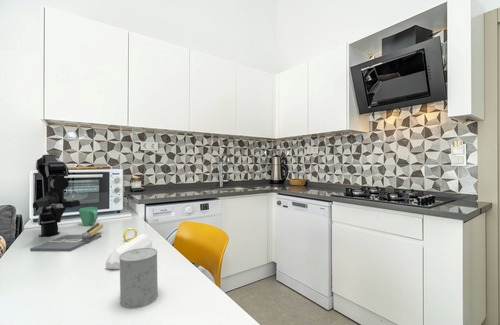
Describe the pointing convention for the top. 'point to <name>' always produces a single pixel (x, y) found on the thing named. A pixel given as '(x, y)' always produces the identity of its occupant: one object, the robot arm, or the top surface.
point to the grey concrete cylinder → (138, 277)
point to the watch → (128, 230)
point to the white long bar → (135, 243)
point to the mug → (88, 215)
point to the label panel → (65, 243)
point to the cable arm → (92, 231)
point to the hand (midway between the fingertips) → (57, 222)
